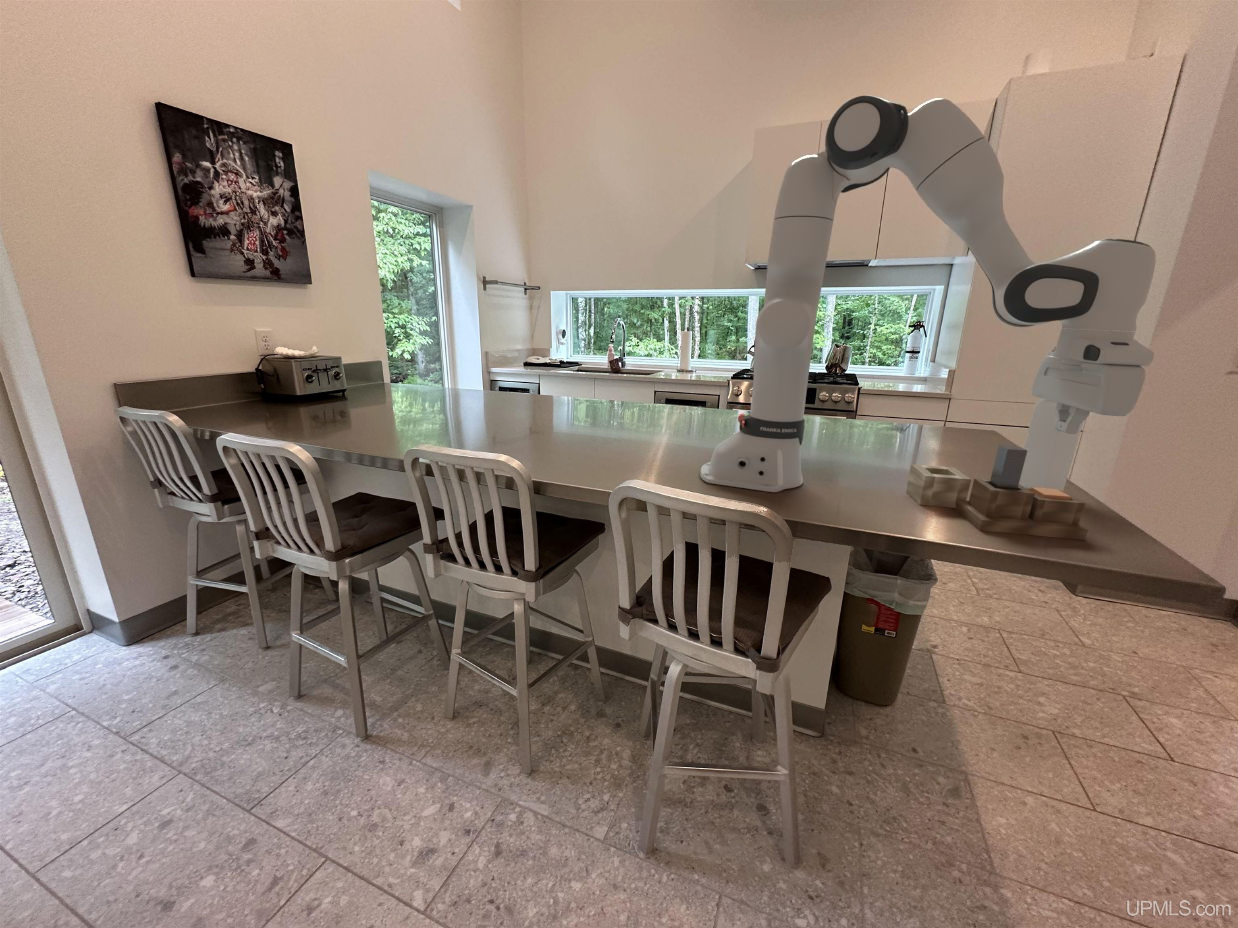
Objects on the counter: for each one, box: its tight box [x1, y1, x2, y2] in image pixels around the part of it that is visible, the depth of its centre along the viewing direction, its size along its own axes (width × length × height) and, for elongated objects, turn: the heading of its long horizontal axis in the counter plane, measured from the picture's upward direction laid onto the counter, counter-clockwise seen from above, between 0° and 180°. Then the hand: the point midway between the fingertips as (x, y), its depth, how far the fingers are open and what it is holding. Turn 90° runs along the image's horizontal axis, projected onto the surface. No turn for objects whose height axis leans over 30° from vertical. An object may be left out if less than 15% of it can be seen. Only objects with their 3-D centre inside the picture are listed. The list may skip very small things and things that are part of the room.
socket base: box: [954, 477, 1090, 541], centre depth 90 cm, size 16×10×7 cm, turn 78°
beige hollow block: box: [905, 464, 972, 509], centre depth 101 cm, size 8×8×6 cm
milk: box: [1019, 399, 1085, 492], centre depth 105 cm, size 6×6×22 cm
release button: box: [1030, 487, 1072, 500], centre depth 89 cm, size 4×4×4 cm
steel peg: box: [989, 444, 1028, 490], centre depth 89 cm, size 3×3×12 cm
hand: (1065, 432), depth 85 cm, fingers closed
